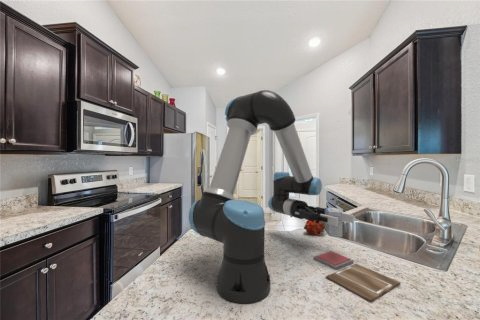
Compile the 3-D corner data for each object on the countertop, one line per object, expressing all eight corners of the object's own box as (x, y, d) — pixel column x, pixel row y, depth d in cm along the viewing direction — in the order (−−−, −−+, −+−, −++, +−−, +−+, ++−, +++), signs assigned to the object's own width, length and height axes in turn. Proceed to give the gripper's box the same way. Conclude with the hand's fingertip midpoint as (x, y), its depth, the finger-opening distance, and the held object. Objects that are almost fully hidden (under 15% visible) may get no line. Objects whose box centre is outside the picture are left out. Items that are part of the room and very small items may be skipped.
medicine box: (342, 237, 71) (342, 212, 71) (328, 236, 72) (328, 211, 72) (336, 231, 78) (336, 207, 79) (324, 230, 79) (324, 207, 80)
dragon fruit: (327, 237, 104) (305, 242, 102) (318, 223, 111) (297, 227, 109) (332, 226, 99) (309, 231, 97) (322, 212, 106) (300, 217, 104)
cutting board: (370, 302, 52) (370, 299, 52) (326, 278, 63) (326, 275, 63) (400, 284, 60) (400, 281, 60) (356, 265, 72) (356, 263, 72)
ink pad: (335, 270, 68) (335, 266, 68) (313, 259, 76) (313, 255, 76) (353, 263, 73) (353, 259, 73) (330, 253, 81) (330, 250, 81)
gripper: (312, 214, 96) (362, 227, 76) (277, 220, 85) (325, 236, 66) (312, 198, 96) (362, 207, 77) (277, 201, 85) (325, 212, 66)
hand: (345, 220), depth 71 cm, fingers closed on medicine box, 8 cm apart
